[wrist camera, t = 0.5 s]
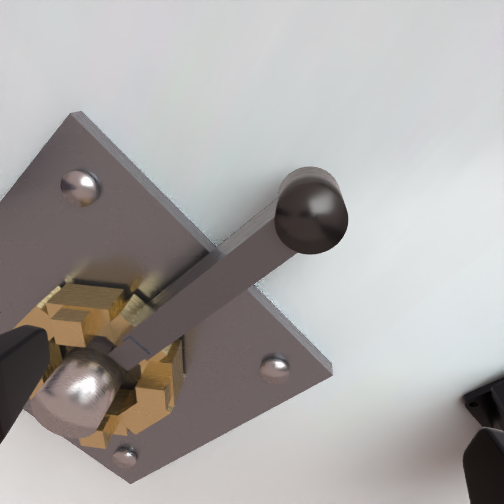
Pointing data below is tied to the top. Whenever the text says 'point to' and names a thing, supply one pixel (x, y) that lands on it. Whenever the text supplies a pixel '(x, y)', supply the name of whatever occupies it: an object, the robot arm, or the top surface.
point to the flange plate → (146, 288)
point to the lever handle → (186, 300)
